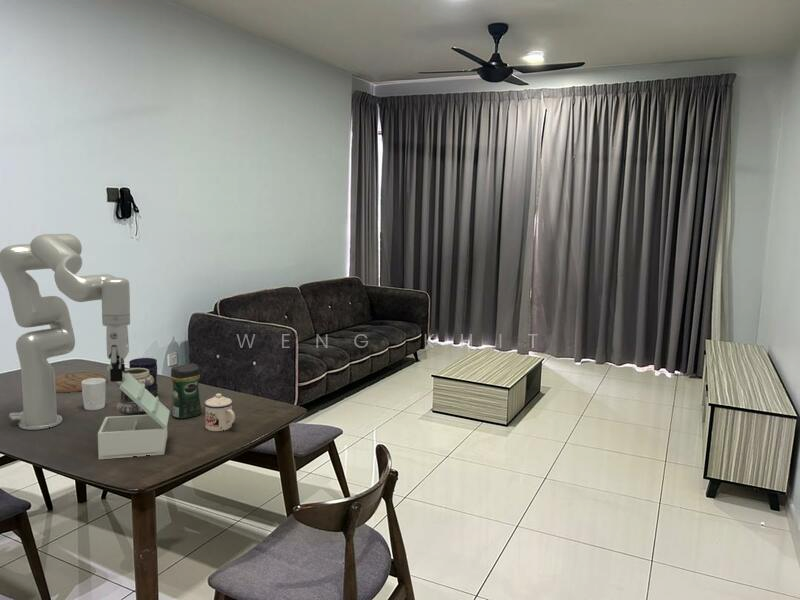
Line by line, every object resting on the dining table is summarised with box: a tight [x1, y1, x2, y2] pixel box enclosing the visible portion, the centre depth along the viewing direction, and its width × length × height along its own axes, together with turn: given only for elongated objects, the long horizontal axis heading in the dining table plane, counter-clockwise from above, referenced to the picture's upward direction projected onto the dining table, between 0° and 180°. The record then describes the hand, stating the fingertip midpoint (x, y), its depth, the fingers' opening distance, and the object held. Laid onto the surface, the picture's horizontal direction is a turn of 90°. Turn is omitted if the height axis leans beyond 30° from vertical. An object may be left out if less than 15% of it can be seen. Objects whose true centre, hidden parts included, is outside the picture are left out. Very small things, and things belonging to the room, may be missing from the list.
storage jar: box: [128, 357, 159, 398], centre depth 231 cm, size 10×10×15 cm
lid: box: [106, 364, 171, 429], centre depth 185 cm, size 24×14×2 cm
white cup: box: [81, 378, 107, 411], centre depth 220 cm, size 8×8×10 cm
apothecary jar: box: [116, 368, 154, 416], centre depth 208 cm, size 12×12×18 cm
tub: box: [97, 414, 168, 460], centre depth 187 cm, size 18×14×8 cm
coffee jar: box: [170, 362, 202, 420], centre depth 216 cm, size 10×8×19 cm
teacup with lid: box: [204, 393, 236, 432], centre depth 205 cm, size 12×9×12 cm
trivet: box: [55, 371, 108, 394], centre depth 246 cm, size 25×25×2 cm
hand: (117, 378), depth 183 cm, fingers closed on lid, 4 cm apart
